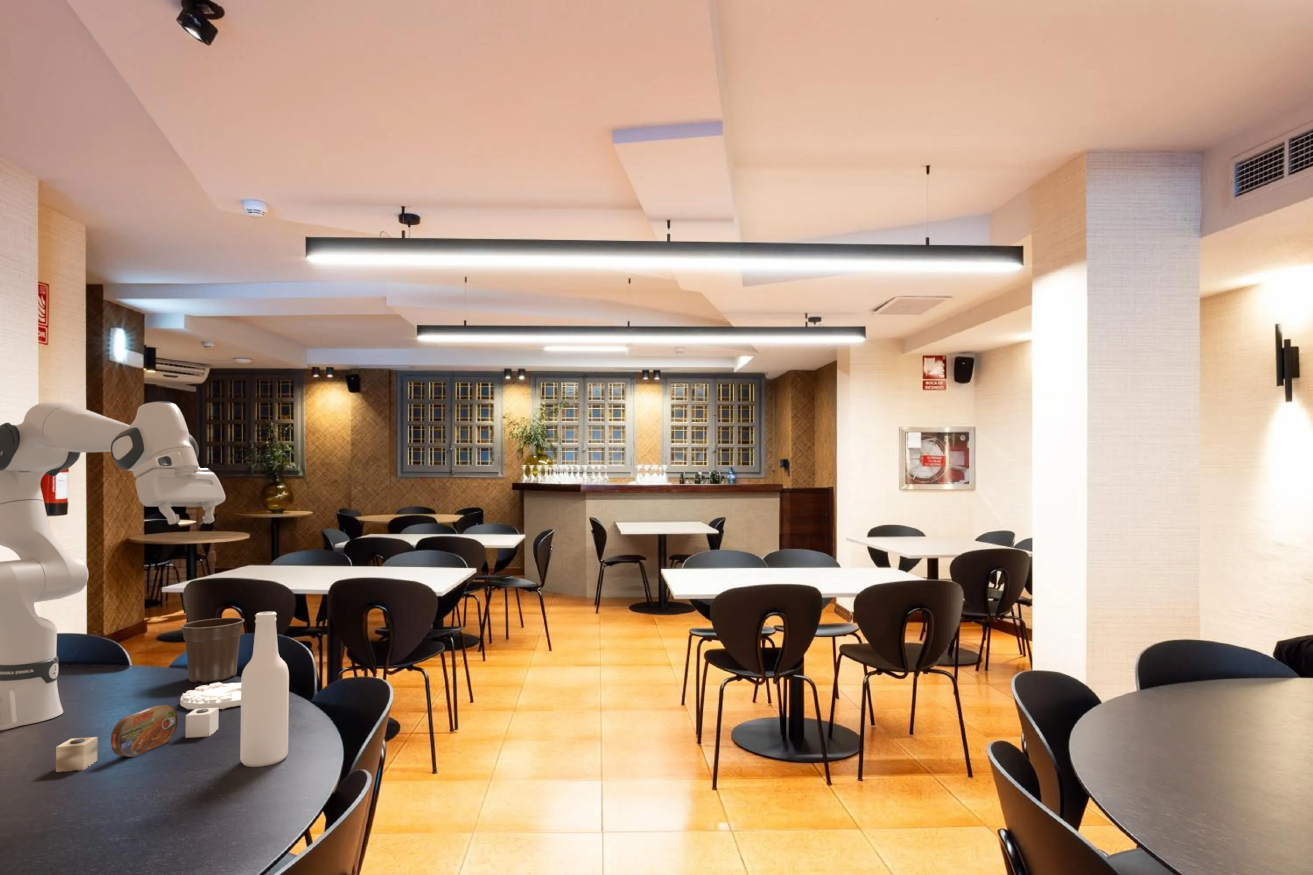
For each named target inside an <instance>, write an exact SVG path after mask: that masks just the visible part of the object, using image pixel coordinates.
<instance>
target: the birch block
mask: <svg viewBox="0 0 1313 875" xmlns="http://www.w3.org/2000/svg"><path fill="white" fill-rule="evenodd" d="M98 738H99V737H98V736H93V737H91V736H89V737H76V738H69V739H68V740H66V741H64V742H63V743H61V744H59V745H57V746H56V747H55V772H56V773H62V771H63V772H74V771H73V770H78V771H85V770H86V769H87V768H89V767H90V766H92V765H93V764H95V763H96V761H97V762H98V746H99V744H98V743H99V742H98ZM94 762H95V763H94ZM91 764H92V765H91ZM88 766H89V767H88Z"/></svg>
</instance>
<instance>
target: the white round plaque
mask: <svg viewBox="0 0 1313 875" xmlns="http://www.w3.org/2000/svg"><path fill="white" fill-rule="evenodd" d="M180 706H181V707H183V708H185V709H186V710H188V711H190V710H191V711H192V710H195V709H203V708H219V709H222V710H225V709H227V708H231V707H232V708H233V707H237V706H241V682H230V683H222V682H220V681H217V682H213V683H210V684H209V685H208V684H205V685H199V686H198V687H195V689H193V690H192V689H190V690H187V691H185V693H184V692H183V693H182V695H181V696H180Z"/></svg>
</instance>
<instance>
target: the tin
mask: <svg viewBox="0 0 1313 875" xmlns="http://www.w3.org/2000/svg"><path fill="white" fill-rule="evenodd" d="M178 718H179V716H178V713H177V711H176V709H175V708H174V707H173V706H172V705H170V704H163V705H153V706H151V707H148V708H146V709H144V710H141V711H137V712H136V713H133V714H130V715H127V716H125V717H123V718H121V719H120V720H119V721H118V722H117V723H116V725H114V727H113V729H112V731H111V736H110V744H111V745H110V746H111V750H112V752H113V753H114V754H115V755H117V756H118V757H123V758H124V757H125V758H126V757H127V758H134V757H137V756H139V755H142V754H144V753H146V752H149V751H151V750H153V749H156V748H158V747H160V746H163V745H165V744H167V743H168V742H169V741H170V740H172V738H173V737H174V735H175V733H176V731H177V727H178V722H179V719H178Z"/></svg>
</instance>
